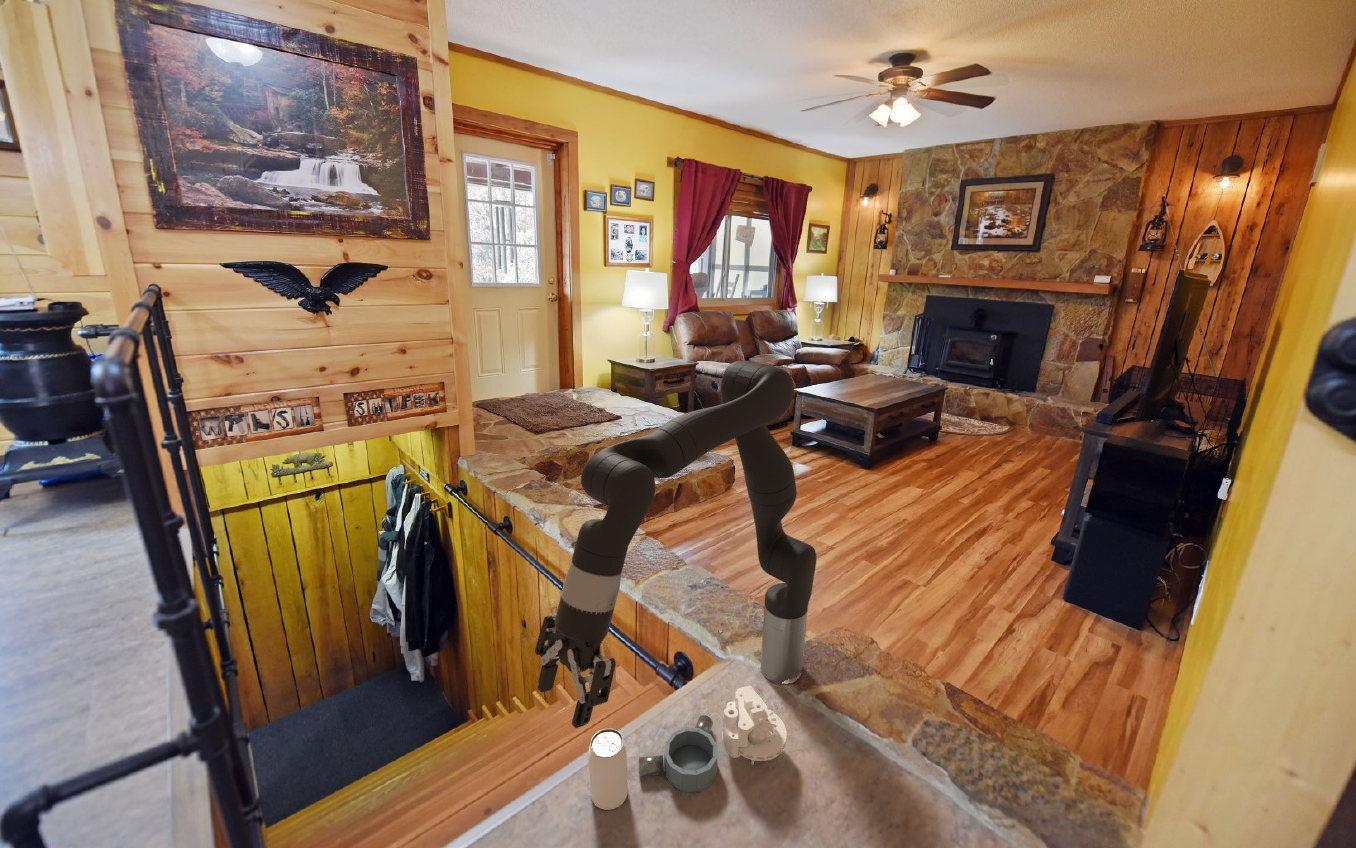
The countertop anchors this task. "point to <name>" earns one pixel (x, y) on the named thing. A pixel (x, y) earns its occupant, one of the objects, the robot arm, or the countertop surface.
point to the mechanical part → (752, 728)
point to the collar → (690, 760)
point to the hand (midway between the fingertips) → (561, 707)
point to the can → (608, 769)
